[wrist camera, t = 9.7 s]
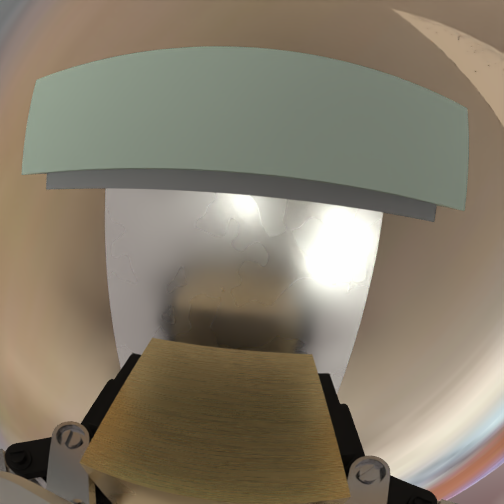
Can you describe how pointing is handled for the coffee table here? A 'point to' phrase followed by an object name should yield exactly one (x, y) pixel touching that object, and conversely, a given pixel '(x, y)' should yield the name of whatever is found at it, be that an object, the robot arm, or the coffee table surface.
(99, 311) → the coffee table surface
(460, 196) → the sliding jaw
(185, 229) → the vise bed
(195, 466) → the brass block
